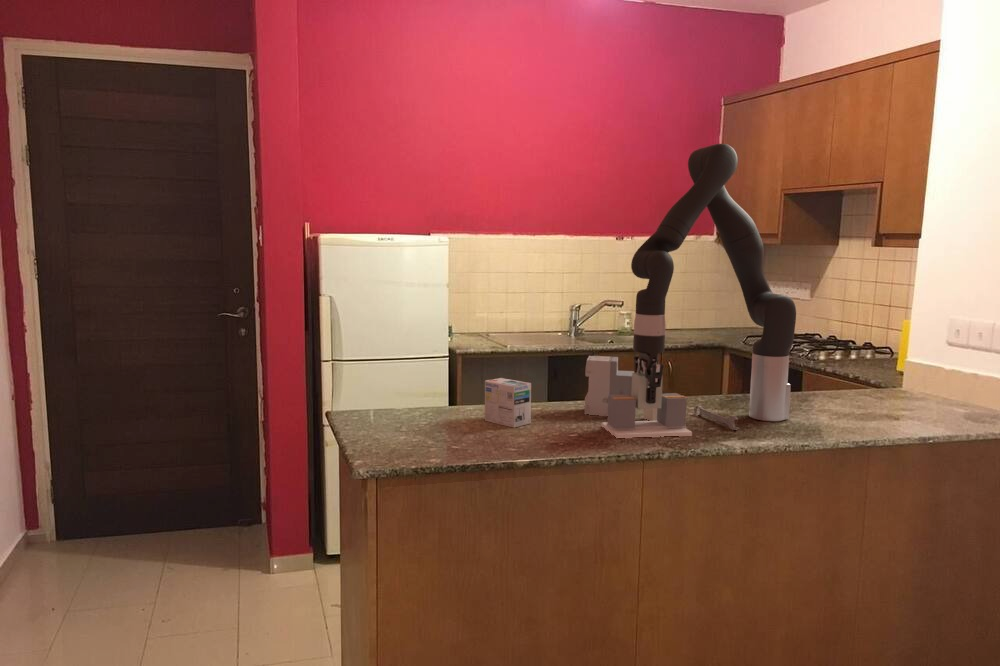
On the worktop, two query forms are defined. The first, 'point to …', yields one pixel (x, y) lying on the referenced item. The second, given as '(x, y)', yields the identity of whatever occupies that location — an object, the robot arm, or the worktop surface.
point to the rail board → (666, 425)
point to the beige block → (650, 414)
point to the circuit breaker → (605, 383)
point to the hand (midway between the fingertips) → (646, 400)
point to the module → (644, 392)
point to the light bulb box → (508, 402)
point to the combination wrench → (717, 417)
